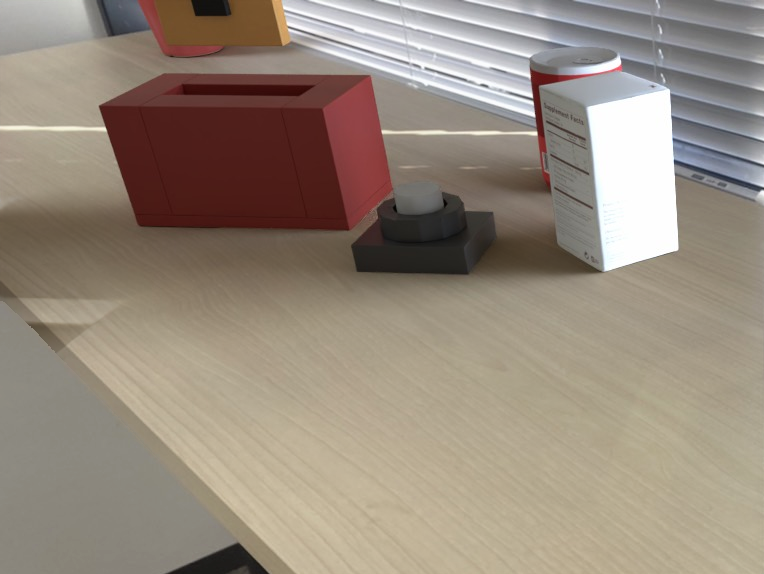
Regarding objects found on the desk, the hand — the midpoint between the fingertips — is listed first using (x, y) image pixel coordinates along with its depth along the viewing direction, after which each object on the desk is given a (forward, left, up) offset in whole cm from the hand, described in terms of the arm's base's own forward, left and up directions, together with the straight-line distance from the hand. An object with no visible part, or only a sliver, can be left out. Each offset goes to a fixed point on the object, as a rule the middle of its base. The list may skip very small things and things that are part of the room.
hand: (220, 11), depth 93 cm
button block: (+18, -10, -16) cm, 26 cm away
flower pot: (-37, +58, -16) cm, 71 cm away
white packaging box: (+33, -8, -16) cm, 38 cm away
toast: (0, 0, -2) cm, 2 cm away
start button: (+18, -10, -12) cm, 24 cm away
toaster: (0, 0, -16) cm, 16 cm away
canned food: (+27, +8, -16) cm, 32 cm away
